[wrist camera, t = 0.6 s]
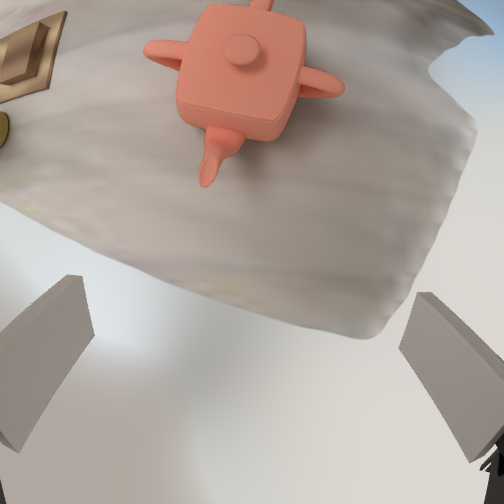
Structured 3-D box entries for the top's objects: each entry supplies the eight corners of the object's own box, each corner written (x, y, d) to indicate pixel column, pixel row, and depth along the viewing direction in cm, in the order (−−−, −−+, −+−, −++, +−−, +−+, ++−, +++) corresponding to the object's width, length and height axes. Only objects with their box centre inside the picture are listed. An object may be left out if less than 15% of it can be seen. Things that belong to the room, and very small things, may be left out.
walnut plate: (20, 38, 24) (10, 35, 21) (49, 26, 24) (39, 21, 21) (9, 85, 27) (-2, 83, 24) (37, 75, 27) (25, 72, 24)
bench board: (-13, 48, 23) (-15, 48, 22) (67, 12, 24) (64, 10, 23) (-26, 114, 28) (-29, 114, 27) (48, 88, 29) (45, 87, 28)
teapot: (261, 16, 27) (267, -41, 15) (332, 109, 31) (375, 86, 19) (150, 82, 30) (105, 50, 17) (218, 179, 34) (201, 190, 22)
